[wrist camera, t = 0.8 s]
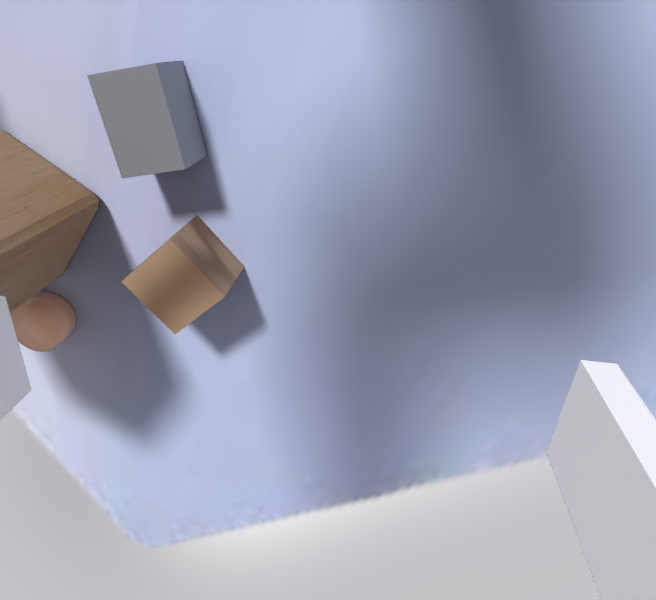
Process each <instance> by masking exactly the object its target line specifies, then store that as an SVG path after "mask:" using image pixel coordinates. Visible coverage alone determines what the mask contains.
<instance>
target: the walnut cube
mask: <svg viewBox="0 0 656 600" xmlns="http://www.w3.org/2000/svg"><path fill="white" fill-rule="evenodd" d="M243 268H244V266H243V265H242V263H241V262H240V261H239V260H238V259H237V258H236V257H235V256H234V255H233V254H232V253H231V251H230V250H229V249H228V248H227V247H226V246H225V245H224V244H223V243H222V242H221V241H220V239H219V238H218V237H217V236H216V235H215V234H214V233H213V232H212V231H211V230H210V229H209V227H208V226H207V225H206V224H205V223H204V222H203V221H202V220H201V219H200V218H199V216H198V215H197V216H195V217H194V218H193V219H192V220H191V221H190V222H188V223H187V224H186V225H185V226H184V227H183V228H181V229H180V230H179V231H178V232H177V233H176V234H175V235H173V236H172V237H171V238H170V239H169V240H168V241H166V242H165V243H164V244H163V245H162V246H161V247H159V248H158V249H157V250H156V251H155V252H154V253H153V254H151V255H150V256H149V257H148V258H147V259H146V260H145V261H144V262H143V263H141V264H140V265H139V266H138V267H137V268H136V269H135V270H134V271H132V272H131V273H130V274H129V275H128V276H127V277H126V278H125V279H124V280H122V281H121V282H122V283H123V284H124V285H125V286H126V287H127V288H128V289H129V290H130V291H131V292H132V293H133V294H134V295H135V296H136V297H137V298H138V299H139V300H140V301H141V302H142V303H143V304H144V305H145V306H146V307H147V308H148V309H149V310H150V311H152V312H153V313H154V314H155V315H156V316H157V317H158V318H159V319H160V320H161V321H162V322H163V323H164V324H165V325H166V326H167V327H168V328H169V329H170V330H171V331H172V332H173V333H174V334H176V333H178V332H179V331H180V330H182V329H183V328H184V327H186V326H187V325H188V324H190V323H191V322H192V321H194V320H195V319H196V318H198V317H199V316H200V315H202V314H203V313H204V312H206V311H207V310H208V309H210V308H211V307H212V306H214V305H215V304H216V303H218V302H219V301H220V300H222V299H223V298H224V297H225V296H226V295H227V293H228V292H229V290H230V289H231V287H232V285H233V284H234V282H235V281H236V279H237V278H238V276H239V275H240V273H241V271H242V270H243Z"/></svg>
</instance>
